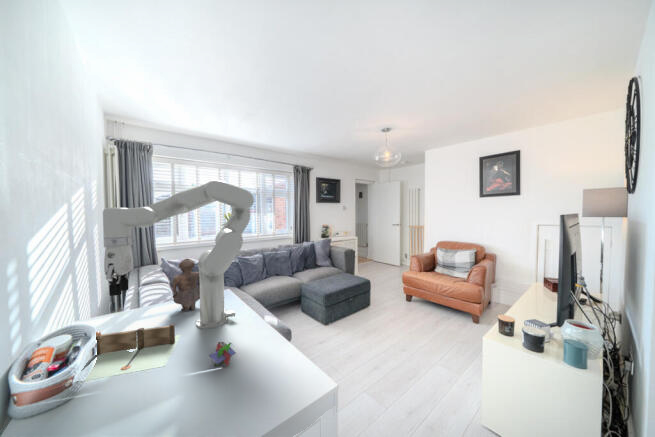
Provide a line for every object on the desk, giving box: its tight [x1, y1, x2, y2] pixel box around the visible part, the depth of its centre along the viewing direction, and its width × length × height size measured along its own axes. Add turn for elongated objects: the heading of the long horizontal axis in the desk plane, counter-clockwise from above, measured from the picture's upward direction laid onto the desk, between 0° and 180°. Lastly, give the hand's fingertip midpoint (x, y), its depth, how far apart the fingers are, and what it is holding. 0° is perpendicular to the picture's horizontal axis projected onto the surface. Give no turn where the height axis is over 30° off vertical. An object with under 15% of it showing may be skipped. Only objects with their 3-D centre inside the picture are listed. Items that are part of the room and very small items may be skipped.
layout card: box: [84, 334, 182, 382], centre depth 79 cm, size 23×20×1 cm
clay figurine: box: [171, 258, 200, 312], centre depth 116 cm, size 13×10×25 cm
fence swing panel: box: [95, 329, 137, 356], centre depth 80 cm, size 12×2×8 cm, turn 109°
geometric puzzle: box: [208, 341, 237, 367], centre depth 75 cm, size 7×7×8 cm
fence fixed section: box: [136, 323, 176, 350], centre depth 84 cm, size 11×2×7 cm, turn 109°
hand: (119, 292), depth 85 cm, fingers open, 4 cm apart
